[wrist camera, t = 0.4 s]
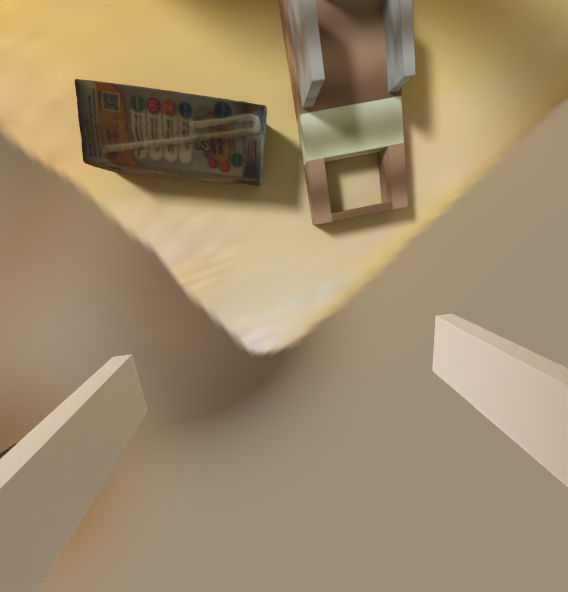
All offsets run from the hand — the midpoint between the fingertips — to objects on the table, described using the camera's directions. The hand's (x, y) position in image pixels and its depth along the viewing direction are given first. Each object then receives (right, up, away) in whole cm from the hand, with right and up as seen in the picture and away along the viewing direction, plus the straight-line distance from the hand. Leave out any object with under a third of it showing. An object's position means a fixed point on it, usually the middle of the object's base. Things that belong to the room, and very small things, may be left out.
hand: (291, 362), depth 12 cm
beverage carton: (-12, +22, +22) cm, 33 cm away
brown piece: (+7, +28, +21) cm, 36 cm away
